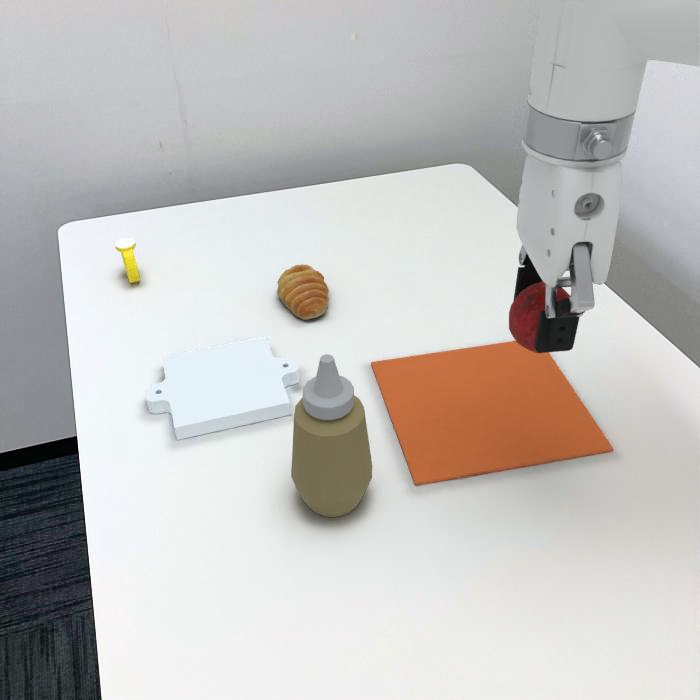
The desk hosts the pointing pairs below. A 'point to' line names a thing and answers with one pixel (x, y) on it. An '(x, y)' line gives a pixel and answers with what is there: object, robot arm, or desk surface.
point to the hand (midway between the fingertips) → (541, 324)
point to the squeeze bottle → (330, 443)
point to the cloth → (484, 411)
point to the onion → (529, 313)
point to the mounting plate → (223, 387)
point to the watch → (128, 258)
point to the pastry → (303, 291)
